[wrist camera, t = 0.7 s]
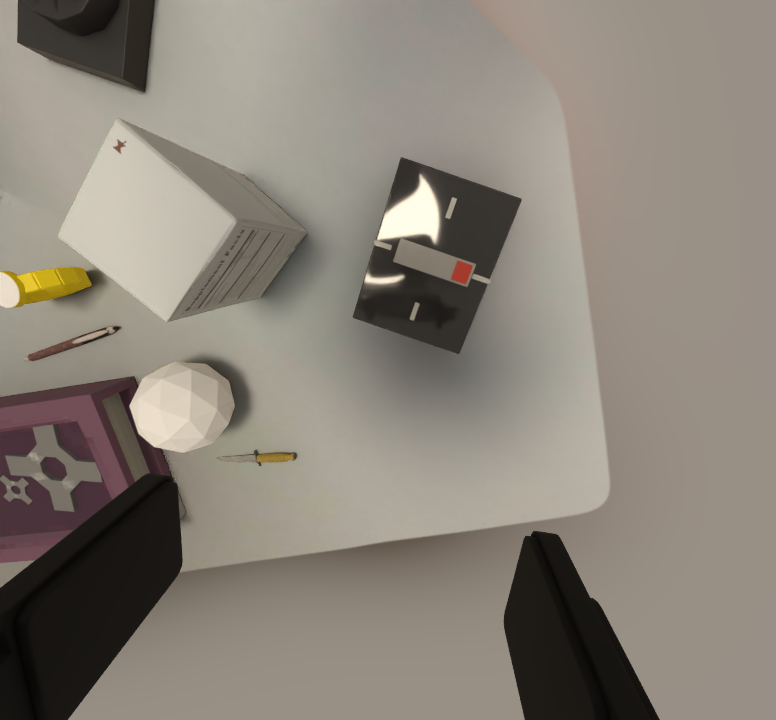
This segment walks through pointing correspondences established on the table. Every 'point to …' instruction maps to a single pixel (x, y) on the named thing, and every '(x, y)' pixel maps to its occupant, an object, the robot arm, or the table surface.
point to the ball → (182, 406)
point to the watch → (40, 285)
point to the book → (66, 461)
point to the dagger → (260, 457)
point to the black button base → (91, 35)
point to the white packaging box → (177, 226)
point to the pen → (72, 343)
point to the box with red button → (434, 262)
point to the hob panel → (439, 232)
